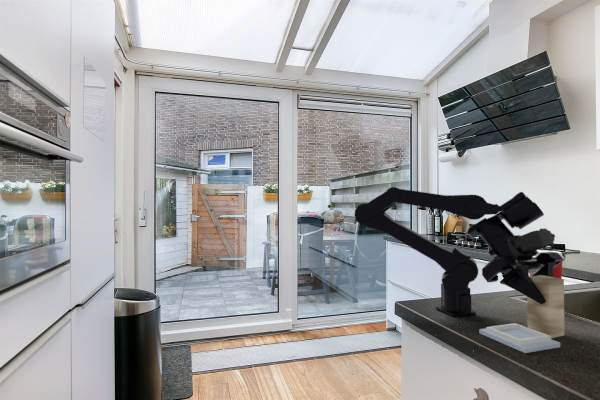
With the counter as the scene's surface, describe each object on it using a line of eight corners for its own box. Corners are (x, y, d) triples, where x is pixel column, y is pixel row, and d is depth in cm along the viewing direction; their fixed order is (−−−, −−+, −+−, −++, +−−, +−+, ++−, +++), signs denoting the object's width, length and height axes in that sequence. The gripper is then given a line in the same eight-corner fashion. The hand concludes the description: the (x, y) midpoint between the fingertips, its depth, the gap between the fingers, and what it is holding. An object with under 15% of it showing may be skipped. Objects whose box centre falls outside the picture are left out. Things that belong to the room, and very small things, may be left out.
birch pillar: (527, 331, 72) (526, 276, 72) (541, 328, 73) (541, 275, 73) (549, 338, 68) (549, 281, 68) (564, 335, 69) (563, 279, 69)
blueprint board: (479, 333, 70) (479, 325, 70) (511, 328, 73) (511, 320, 73) (525, 353, 61) (524, 343, 61) (560, 347, 63) (560, 338, 63)
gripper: (493, 216, 71) (551, 282, 60) (553, 215, 78) (614, 274, 68) (462, 251, 78) (509, 315, 68) (519, 247, 85) (570, 304, 75)
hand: (552, 301), depth 69 cm, fingers open, 5 cm apart
